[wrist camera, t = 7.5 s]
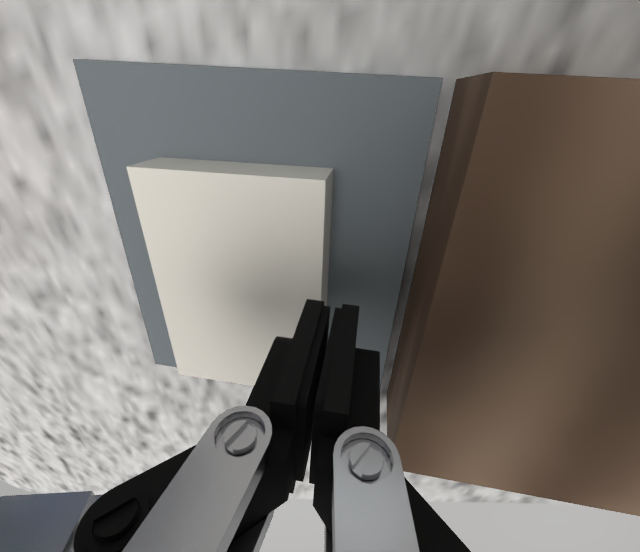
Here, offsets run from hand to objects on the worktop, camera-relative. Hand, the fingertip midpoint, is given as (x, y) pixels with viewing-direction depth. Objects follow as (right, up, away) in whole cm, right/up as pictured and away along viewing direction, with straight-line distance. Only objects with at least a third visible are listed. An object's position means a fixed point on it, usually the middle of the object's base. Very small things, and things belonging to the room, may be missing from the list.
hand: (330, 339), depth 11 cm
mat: (-3, +3, +5) cm, 6 cm away
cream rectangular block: (-4, +1, +3) cm, 5 cm away
